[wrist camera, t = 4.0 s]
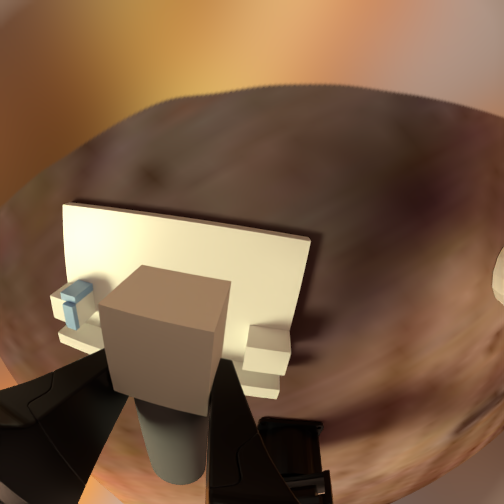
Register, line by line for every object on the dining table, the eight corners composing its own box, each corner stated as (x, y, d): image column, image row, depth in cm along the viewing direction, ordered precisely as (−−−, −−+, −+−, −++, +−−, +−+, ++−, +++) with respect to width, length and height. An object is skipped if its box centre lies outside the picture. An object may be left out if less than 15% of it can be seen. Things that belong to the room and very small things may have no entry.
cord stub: (231, 281, 8) (214, 332, 6) (211, 449, 11) (202, 490, 9) (142, 264, 8) (97, 303, 6) (157, 436, 11) (142, 475, 9)
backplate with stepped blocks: (308, 237, 18) (318, 257, 14) (276, 368, 21) (276, 404, 17) (70, 202, 18) (36, 212, 14) (81, 321, 21) (57, 345, 18)
